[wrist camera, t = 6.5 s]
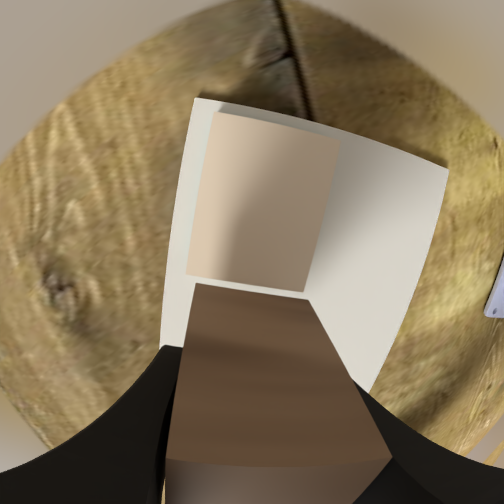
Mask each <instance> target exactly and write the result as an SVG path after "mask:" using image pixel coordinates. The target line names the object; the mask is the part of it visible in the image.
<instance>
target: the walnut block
mask: <svg viewBox="0 0 504 504" xmlns="http://www.w3.org/2000/svg"><path fill="white" fill-rule="evenodd" d="M391 458H392V455H391V453H390V451H389V449H388V447H387V445H386V443H385V441H384V439H383V437H382V435H381V433H380V432H379V430H378V428H377V426H376V424H375V422H374V420H373V418H372V416H371V414H370V412H369V410H368V409H367V407H366V405H365V403H364V401H363V399H362V397H361V395H360V393H359V391H358V390H357V388H356V386H355V384H354V382H353V380H352V378H351V376H350V375H349V373H348V371H347V369H346V367H345V365H344V363H343V362H342V360H341V358H340V356H339V354H338V352H337V351H336V349H335V347H334V345H333V343H332V341H331V340H330V338H329V336H328V334H327V332H326V330H325V329H324V327H323V325H322V323H321V321H320V320H319V318H318V316H317V314H316V312H315V311H314V309H313V307H312V305H311V303H310V302H309V300H307V299H300V298H293V297H286V296H278V295H272V294H265V293H258V292H251V291H245V290H238V289H232V288H226V287H219V286H213V285H207V284H201V283H195V288H194V293H193V298H192V303H191V308H190V313H189V319H188V324H187V329H186V334H185V340H184V345H183V351H182V356H181V362H180V368H179V374H178V380H177V386H176V392H175V398H174V404H173V411H172V417H171V424H170V431H169V438H168V445H167V452H166V466H165V504H352V503H353V502H354V501H355V500H356V499H357V498H358V497H359V496H360V495H361V494H362V492H363V491H364V490H365V489H366V488H367V487H368V486H369V485H370V484H371V482H372V481H373V480H374V479H375V478H376V477H377V475H378V474H379V473H380V472H381V471H382V469H383V468H384V467H385V466H386V465H387V463H388V462H389V461H390V460H391Z"/></svg>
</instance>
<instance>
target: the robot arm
mask: <svg viewBox="0 0 504 504" xmlns="http://www.w3.org/2000/svg"><path fill="white" fill-rule="evenodd" d="M484 314H485V315H486V316H487V317H494V318H504V258H503V261H502V264H501V267H500V270H499V273H498V276H497V278H496V281H495V284H494V286H493V289H492V292H491V294H490V297H489V299H488V302H487V304H486V306H485V309H484ZM182 351H183V347H177V346H171V345H164V346H162V347H161V348H160V350H159V352H158V353H157V355H156V356H155V358H154V359H153V361H152V362H151V363H150V365H149V366H148V367H147V368H146V370H145V371H144V372H143V373H142V374H141V376H140V377H139V378H138V379H137V380H136V381H135V383H134V384H133V385H132V386H131V387H130V388H129V389H128V390H127V391H126V392H125V393H124V394H123V395H122V396H121V397H120V398H119V399H118V400H117V401H116V402H115V403H114V404H113V405H112V406H111V407H110V408H109V409H108V410H107V411H106V412H104V413H103V414H102V415H101V416H100V417H99V418H97V419H96V420H95V421H94V422H92V423H91V424H90V425H89V426H87V427H86V428H84V429H83V430H82V431H80V432H79V433H77V434H76V435H75V436H73V437H72V438H70V439H69V440H67V441H66V442H64V443H62V444H61V445H59V446H58V447H56V448H54V449H52V450H50V451H48V452H47V453H45V454H43V455H41V456H39V457H37V458H35V459H33V460H31V461H29V462H27V463H25V464H22V465H20V466H18V467H15V468H12V469H10V470H7V471H4V472H2V473H0V504H161V501H162V491H163V485H164V480H165V466H166V452H167V445H168V438H169V431H170V424H171V417H172V411H173V404H174V398H175V392H176V386H177V380H178V374H179V368H180V362H181V356H182ZM352 380H353V379H352ZM353 382H354V384H355V386H356V388H357V390H358V391H359V393H360V395H361V397H362V399H363V401H364V403H365V405H366V407H367V409H368V410H369V412H370V414H371V416H372V418H373V420H374V422H375V424H376V426H377V428H378V430H379V432H380V433H381V435H382V437H383V439H384V441H385V443H386V445H387V447H388V449H389V451H390V453H391V455H392V458H391V460H390V461H389V462H388V463H387V465H386V466H385V467H384V468H383V469H382V471H381V472H380V473H379V474H378V475H377V477H376V478H375V479H374V480H373V481H372V482H371V484H370V485H369V486H368V487H367V488H366V489H365V490H364V491H363V492H362V494H361V495H360V496H359V497H358V498H357V499H356V500H355V501H354V502H353V503H352V504H504V469H502V468H497V467H493V466H489V465H485V464H482V463H479V462H476V461H474V460H471V459H468V458H466V457H463V456H461V455H458V454H456V453H454V452H452V451H450V450H448V449H446V448H444V447H442V446H440V445H438V444H436V443H434V442H432V441H431V440H429V439H427V438H426V437H424V436H422V435H421V434H419V433H418V432H416V431H415V430H413V429H412V428H410V427H409V426H407V425H406V424H404V423H403V422H402V421H401V420H399V419H398V418H397V417H395V416H394V415H393V414H392V413H390V412H389V411H388V410H387V409H385V408H384V407H383V406H382V405H381V404H379V403H378V402H377V401H376V400H375V399H374V398H373V397H371V396H370V395H369V394H368V393H367V392H366V391H365V390H364V389H363V388H362V387H360V386H359V385H358V384H357V383H356V382H355V381H354V380H353Z"/></svg>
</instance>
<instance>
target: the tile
mask: <svg viewBox="0 0 504 504" xmlns="http://www.w3.org/2000/svg"><path fill="white" fill-rule="evenodd" d="M340 143H341V140H337V139H334V138H330V137H327V136H323V135H320V134H316V133H312V132H308V131H305V130H301V129H297V128H293V127H288V126H284V125H280V124H276V123H271V122H267V121H262V120H257V119H252V118H247V117H242V116H237V115H232V114H226V113H220V112H214V113H213V118H212V123H211V127H210V132H209V137H208V142H207V147H206V152H205V157H204V163H203V168H202V173H201V179H200V185H199V190H198V196H197V202H196V208H195V214H194V220H193V226H192V233H191V239H190V246H189V253H188V260H187V267H186V274H185V275H191V276H197V277H203V278H210V279H216V280H222V281H228V282H235V283H241V284H248V285H254V286H261V287H267V288H274V289H281V290H288V291H295V292H302V293H303V292H304V288H305V285H306V281H307V278H308V274H309V270H310V267H311V263H312V259H313V256H314V252H315V248H316V244H317V241H318V237H319V233H320V229H321V225H322V221H323V217H324V213H325V209H326V205H327V201H328V197H329V192H330V188H331V184H332V180H333V175H334V171H335V166H336V162H337V157H338V153H339V148H340Z"/></svg>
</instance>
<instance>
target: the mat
mask: <svg viewBox="0 0 504 504" xmlns="http://www.w3.org/2000/svg"><path fill="white" fill-rule="evenodd" d="M214 112H220V113H226V114H232V115H237V116H242V117H247V118H252V119H257V120H262V121H267V122H271V123H276V124H280V125H284V126H288V127H293V128H297V129H301V130H305V131H308V132H312V133H316V134H320V135H323V136H327V137H330V138H334V139H337V140H341V143H340V148H339V153H338V157H337V162H336V166H335V171H334V175H333V180H332V184H331V188H330V192H329V197H328V201H327V205H326V209H325V213H324V217H323V221H322V225H321V229H320V233H319V237H318V241H317V244H316V248H315V252H314V256H313V259H312V263H311V267H310V270H309V274H308V278H307V281H306V285H305V288H304V292H303V293H302V292H295V291H288V290H281V289H274V288H267V287H261V286H254V285H248V284H241V283H235V282H228V281H222V280H216V279H210V278H203V277H197V276H191V275H185V274H186V267H187V260H188V253H189V246H190V239H191V233H192V226H193V220H194V214H195V208H196V202H197V196H198V190H199V185H200V179H201V173H202V168H203V163H204V157H205V152H206V147H207V142H208V137H209V132H210V127H211V123H212V118H213V113H214ZM448 174H449V170H448V169H446V168H444V167H441V166H439V165H437V164H434V163H432V162H430V161H427V160H425V159H422V158H420V157H417V156H415V155H412V154H410V153H407V152H405V151H402V150H399V149H397V148H394V147H391V146H389V145H386V144H383V143H380V142H377V141H374V140H371V139H368V138H366V137H362V136H359V135H356V134H353V133H350V132H347V131H344V130H340V129H337V128H334V127H330V126H327V125H323V124H320V123H316V122H312V121H309V120H305V119H301V118H297V117H293V116H289V115H285V114H281V113H276V112H272V111H267V110H263V109H258V108H253V107H248V106H243V105H238V104H232V103H227V102H221V101H215V100H209V99H202V98H195V100H194V104H193V109H192V113H191V118H190V123H189V128H188V133H187V138H186V143H185V148H184V153H183V159H182V165H181V170H180V176H179V182H178V188H177V194H176V201H175V207H174V214H173V221H172V228H171V235H170V243H169V251H168V260H167V268H166V277H165V287H164V297H163V308H162V321H161V334H160V348H161V347H162V346H164V345H171V346H177V347H183V345H184V340H185V334H186V329H187V324H188V319H189V313H190V308H191V303H192V298H193V293H194V288H195V283H201V284H207V285H213V286H219V287H226V288H232V289H238V290H245V291H251V292H258V293H265V294H272V295H278V296H286V297H293V298H300V299H307V300H309V302H310V303H311V305H312V307H313V309H314V311H315V312H316V314H317V316H318V318H319V320H320V321H321V323H322V325H323V327H324V329H325V330H326V332H327V334H328V336H329V338H330V340H331V341H332V343H333V345H334V347H335V349H336V351H337V352H338V354H339V356H340V358H341V360H342V362H343V363H344V365H345V367H346V369H347V371H348V373H349V375H350V376H351V378H352V379H353V380H354V381H355V382H356V383H357V384H358V385H359V386H360V387H362V388H363V389H364V390H365V391H366V392H367V393H369V391H370V389H371V387H372V385H373V383H374V381H375V379H376V377H377V375H378V373H379V371H380V369H381V367H382V365H383V363H384V361H385V359H386V357H387V355H388V353H389V351H390V348H391V346H392V344H393V342H394V340H395V337H396V335H397V333H398V330H399V328H400V326H401V323H402V321H403V319H404V316H405V314H406V311H407V309H408V306H409V304H410V301H411V299H412V296H413V293H414V291H415V288H416V285H417V282H418V280H419V277H420V274H421V271H422V268H423V265H424V262H425V259H426V256H427V253H428V250H429V247H430V244H431V240H432V237H433V234H434V230H435V227H436V223H437V219H438V216H439V212H440V208H441V204H442V200H443V196H444V192H445V188H446V183H447V179H448ZM159 350H160V349H159Z"/></svg>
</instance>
